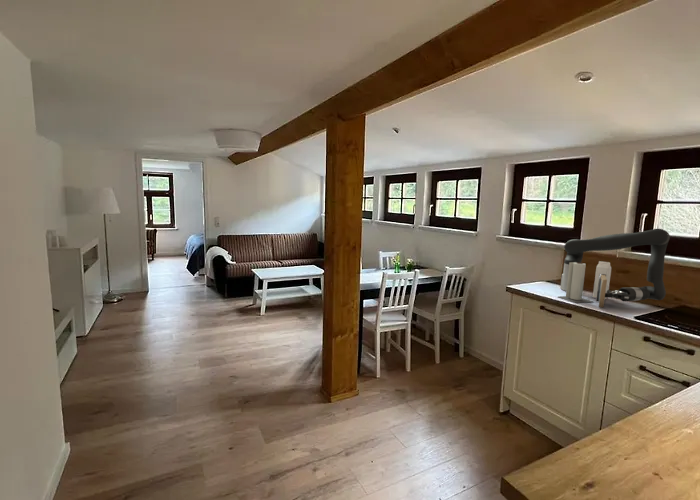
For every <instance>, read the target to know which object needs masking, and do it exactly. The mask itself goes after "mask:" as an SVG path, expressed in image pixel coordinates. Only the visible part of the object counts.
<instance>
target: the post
mask: <svg viewBox="0 0 700 500" xmlns="http://www.w3.org/2000/svg"><path fill="white" fill-rule="evenodd" d="M601 275H605V276H606V274H599V282H598V290H597V298H595V299H596V302H598V303H599V293H600V285H601Z"/></svg>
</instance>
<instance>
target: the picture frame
mask: <svg viewBox="0 0 700 500" xmlns="http://www.w3.org/2000/svg"><path fill="white" fill-rule="evenodd" d="M606 284H607V279H606V276H605V275H601V285H600V293H599V302H598V308H601V309H602V308H604V307H605V300H606V299H605V292H606Z"/></svg>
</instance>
